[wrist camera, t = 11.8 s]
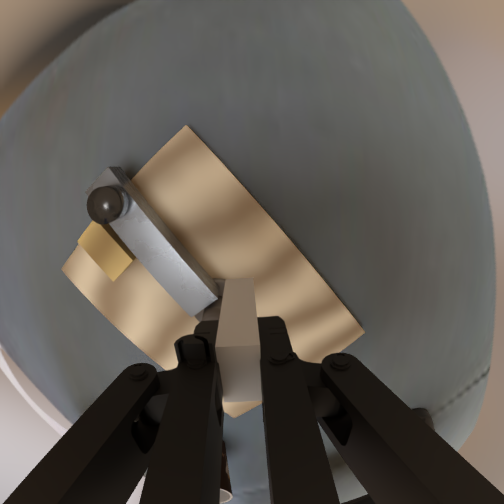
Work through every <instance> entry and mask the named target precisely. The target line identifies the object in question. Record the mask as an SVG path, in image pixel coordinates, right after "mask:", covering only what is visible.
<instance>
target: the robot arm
mask: <svg viewBox="0 0 504 504" xmlns="http://www.w3.org/2000/svg"><path fill="white" fill-rule="evenodd" d="M174 347H175V351H176V356H177V360H178V365H177V367H176V368H174V369H171V370H167V371H161V372H157V370H156V368H155V367H154V366H153V365H150V364H148V363H137V364H133V365H131V366H129V367H127V368H126V369H125V370H123V372H122V373H121V374H120V375H119V376H118V377H117V378H116V379H115V380H114V381H113V382H112V383H111V384H110V385H109V387H108V388H107V389H106V390H105V391H104V392H103V393H102V394H101V395H100V396H99V397H98V398H97V399H96V401H95V402H94V403H93V404H92V405H91V406H90V407H89V408H88V409H87V410H86V411H85V412H84V414H83V415H82V416H81V417H80V418H79V419H78V420H77V421H76V422H75V423H74V424H73V426H72V427H71V428H70V429H69V430H68V431H67V432H66V433H65V434H64V435H63V437H62V438H61V439H60V440H59V441H58V442H57V443H56V444H55V445H54V446H53V448H52V449H51V450H50V451H49V452H48V453H47V455H45V456H44V458H43V459H42V460H41V461H40V462H39V463H38V464H37V465H36V467H35V468H34V469H33V470H32V471H31V472H30V473H29V474H28V476H27V477H26V478H25V479H24V480H23V481H22V482H21V483H20V485H19V486H18V487H17V488H16V489H15V490H14V491H13V493H12V494H11V495H10V496H9V497H8V499H7V500H6V501H5V502H4V503H3V504H126V502H127V501H128V499H129V498H130V496H131V494H132V493H133V491H134V489H135V488H136V486H137V484H138V482H139V481H140V480H141V478H142V476H143V475H144V473H145V471H146V470H147V468H148V470H147V474H146V478H145V482H144V486H143V490H142V494H141V498H140V503H139V504H220V480H221V458H222V438H223V420H224V410H223V404H222V401H223V399H224V402H247V401H262V406H263V422H264V431H265V443H266V454H267V465H268V477H269V488H270V499H271V504H340V502H339V498H338V494H337V491H336V487H335V483H334V480H333V476H332V472H331V469H330V465H329V462H328V458H327V454H326V451H325V447H324V444H323V440H322V436H321V433H320V429H319V426H318V423H319V424H320V426H321V427H322V429H323V430H324V431H325V433H326V434H327V436H328V437H329V439H330V440H331V442H332V443H333V445H334V446H335V448H336V449H337V450H338V452H339V453H340V455H341V456H342V458H343V459H344V461H345V462H346V463H347V465H348V466H349V468H350V469H351V470H352V472H353V473H354V475H355V476H356V477H357V479H358V480H359V482H360V483H361V484H362V486H363V487H364V488H365V490H366V491H367V493H368V494H367V495H364V496H361V497H359V498H356V499H353V500H350V501H347V502H344V503H341V504H504V495H503V494H502V493H501V492H500V491H499V490H498V489H497V488H496V487H495V486H493V485H492V484H491V483H490V482H489V481H488V480H487V479H486V478H485V477H484V476H483V475H481V474H480V473H479V472H478V471H477V470H476V469H475V468H474V467H473V466H472V465H471V464H469V463H468V462H467V461H466V460H465V459H464V458H463V457H462V456H461V455H460V454H459V453H458V452H456V451H455V450H454V449H453V448H452V447H451V446H450V445H449V444H448V443H447V442H446V441H445V440H444V439H442V438H441V437H440V436H439V435H438V434H437V433H436V432H435V429H434V424H433V420H432V418H431V416H430V414H429V413H428V411H427V410H425V409H414V410H411V409H410V408H409V407H408V406H407V405H406V404H405V403H404V402H403V401H402V400H401V399H400V398H398V397H397V396H396V395H395V394H394V393H393V392H392V391H391V390H390V389H389V388H388V387H387V386H386V385H385V384H384V383H382V382H381V381H380V380H379V379H378V378H377V377H376V376H375V375H374V374H373V373H372V372H371V371H370V370H369V369H368V368H367V367H365V366H364V365H363V364H362V363H361V362H360V361H359V360H358V359H357V358H356V357H354V356H353V355H350V354H347V353H333V354H330V355H327V356H325V358H324V359H323V360H322V363H312V362H306V361H303V360H301V359H299V357H298V356H297V354H296V353H295V352H293V349H292V346H291V342H290V339H289V335H288V332H287V328H286V325H285V321H284V320H283V319H282V318H280V317H279V316H268V317H257V311H256V302H255V292H254V283H253V278H239V279H226V280H225V286H224V292H223V299H222V305H221V311H220V318H219V320H209V321H201V322H200V323H198V324H197V325H196V326H195V329H194V334H188V335H185V336H182V337H180V338H179V339H177V340H176V341H175V343H174ZM317 421H318V422H317Z"/></svg>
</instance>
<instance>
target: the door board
mask: <svg viewBox="0 0 504 504" xmlns="http://www.w3.org/2000/svg"><path fill="white" fill-rule="evenodd" d="M131 182H132V183H133V184H134V185H135V187H136V188H137V189H138V191H139V192H140V193H141V194H142V196H143V197H144V198H145V199H146V201H147V202H148V203H149V204H150V206H151V207H152V208H153V209H154V210H155V212H156V213H157V214H158V215H159V217H160V218H161V219H162V220H163V221H164V223H165V224H166V225H167V226H168V228H169V229H170V230H171V231H172V232H173V234H174V235H175V236H176V237H177V238H178V240H179V241H180V242H181V243H182V244H183V245H184V247H185V248H186V249H187V250H188V251H189V252H190V254H191V255H192V256H193V257H194V258H195V259H196V261H197V262H198V263H199V264H200V265H201V266H202V268H203V269H204V270H205V271H206V272H207V273H208V274H209V275H210V277H211V278H212V279H213V280H214V281H215V282H216V283H217V285H218V286H219V287H220V288H219V294H218V299H217V300H215V301H214V302H213V303H211V304H210V305H208V306H207V307H206V308H204V309H203V310H201V311H200V312H199V313H197V314H196V315H195V316H193V317H192V318H191V317H190V316H189V315H188V314H187V313H186V312H185V311H184V310H183V309H182V308H181V306H180V305H179V304H178V303H177V302H176V301H175V300H174V299H173V298H172V297H171V296H170V295H169V294H168V293H167V291H166V290H165V289H164V288H163V287H162V286H161V285H160V284H159V283H158V282H157V280H156V279H155V278H154V277H153V276H152V275H151V274H150V273H149V271H148V270H147V269H146V268H145V267H144V266H143V265H142V263H141V262H140V261H139V260H138V259H137V258H136V256H135V255H134V254H133V253H132V252H131V250H130V249H129V248H128V247H127V246H126V244H125V243H124V242H123V241H122V239H121V238H120V237H119V236H118V235H117V233H116V232H115V231H114V229H113V228H112V227H111V226H110V224H109V223H108V224H105V225H101V224H98V223H96V222H94V221H92V222H91V224H90V225H89V226H88V228H87V229H86V230H85V232H84V233H83V234H82V236H81V237H80V238H79V240H78V241H77V242H78V243H79V245H78V246H77V247H76V249H75V250H74V252H73V253H72V254H71V256H70V257H69V259H68V260H67V262H66V263H65V265H64V266H63V268H62V271H63V272H64V273H65V274H66V275H67V276H68V278H69V279H70V280H71V281H72V282H73V283H74V284H75V286H76V287H77V288H78V289H79V290H80V291H81V292H82V293H83V294H84V295H85V296H86V297H87V299H88V300H89V301H90V302H91V303H92V304H93V305H94V306H95V307H96V308H97V309H98V310H99V311H100V312H101V313H102V314H103V315H104V316H105V317H106V318H107V319H108V320H109V321H110V322H111V323H112V324H113V325H114V326H115V327H116V328H118V329H119V330H120V331H121V332H122V333H123V334H124V335H125V336H126V337H127V338H128V339H129V340H131V341H132V342H133V343H134V344H135V345H136V346H137V347H139V348H140V349H141V350H142V351H143V352H144V353H146V354H147V355H148V356H149V357H150V358H151V359H153V360H154V361H155V362H156V363H158V364H159V365H160V366H161V367H163V368H164V369H165V370H166V371H167V370H171V369H174V368H176V367H177V365H178V360H177V356H176V351H175V347H174V343H175V341H176V340H177V339H179V338H180V337H182V336H185V335H188V334H194V329H195V326H196V325H197V324H198V323H200V322H201V321H209V320H219V318H220V311H221V305H222V299H223V292H224V286H225V280H226V279H239V278H253V283H254V292H255V302H256V311H257V317H268V316H279V317H280V318H282V319H283V320H284V321H285V325H286V328H287V332H288V335H289V339H290V342H291V346H292V349H293V352H295V353H296V354H297V356H298V357H299V359H301V360H303V361H306V362H312V363H322V360H323V359H324V358H325V356H327V355H330V354H333V353H339V352H341V351H342V350H343V349H345V348H346V347H347V346H349V345H350V344H351V343H352V342H354V341H355V340H356V339H358V338H359V337H360V336H361V335H363V334H364V333H365V332H364V330H363V329H362V327H361V326H360V325H359V324H358V322H357V321H356V320H355V318H354V317H353V316H352V315H351V313H350V312H349V311H348V310H347V308H346V307H345V306H344V305H343V303H342V302H341V301H340V300H339V298H338V297H337V296H336V295H335V293H334V292H333V291H332V290H331V288H330V287H329V286H328V285H327V283H326V282H325V281H324V280H323V279H322V277H321V276H320V275H319V274H318V272H317V271H316V270H315V269H314V268H313V266H312V265H311V264H310V263H309V262H308V260H307V259H306V258H305V257H304V256H303V254H302V253H301V252H300V251H299V250H298V248H297V247H296V246H295V245H294V244H293V243H292V241H291V240H290V239H289V238H288V237H287V236H286V234H285V233H284V232H283V231H282V230H281V229H280V227H279V226H278V225H277V224H276V223H275V222H274V220H273V219H272V218H271V217H270V216H269V215H268V213H267V212H266V211H265V210H264V209H263V208H262V207H261V205H260V204H259V203H258V202H257V201H256V200H255V199H254V198H253V196H252V195H251V194H250V193H249V192H248V191H247V190H246V189H245V187H244V186H243V185H242V184H241V183H240V182H239V181H238V180H237V179H236V177H235V176H234V175H233V174H232V173H231V172H230V171H229V170H228V169H227V168H226V166H225V165H224V164H223V163H222V162H221V161H220V160H219V159H218V158H217V157H216V156H215V154H214V153H213V152H212V151H211V150H210V149H209V148H208V147H207V146H206V145H205V144H204V143H203V142H202V140H201V139H200V138H199V137H198V136H197V135H196V134H195V133H194V132H193V131H192V130H191V129H190V128H189V127H188V126H187V125H186V126H185V127H183V128H182V129H181V130H180V131H179V132H178V133H177V134H176V135H175V136H174V137H173V138H172V139H171V140H170V141H169V142H167V143H166V144H165V145H164V146H163V147H162V148H161V149H160V150H159V151H158V152H157V153H156V154H155V155H154V156H153V157H152V158H151V159H150V160H149V161H148V162H147V163H146V165H145V166H144V167H143V168H142V169H141V170H140V171H139V172H138V173H137V174H136V175H135V176H134V177H133V178H132V180H131ZM261 403H262V401H247V402H224V399H223V401H222V404H223V410H224V412H225V413H227V414H229V415H230V416H232V417H233V418H236V417H238V416H239V415H241V414H243V413H245V412H247V411H249V410H250V409H252V408H254V407H256V406H258V405H259V404H261Z"/></svg>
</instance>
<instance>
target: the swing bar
mask: <svg viewBox="0 0 504 504" xmlns="http://www.w3.org/2000/svg"><path fill="white" fill-rule="evenodd" d="M85 193H86V194H87V195H88V200H87V210H88V214H89V216H90V217H91V219H92V220H93V221H94V222H96V223H98V224H101V225H105V224H108V223H109V224H110V226H111V227H112V228H113V229H114V231H115V232H116V233H117V235H118V236H119V237H120V238H121V239H122V241H123V242H124V243H125V244H126V246H127V247H128V248H129V249H130V250H131V252H132V253H133V254H134V255H135V256H136V258H137V259H138V260H139V261H140V262H141V263H142V265H143V266H144V267H145V268H146V269H147V270H148V271H149V273H150V274H151V275H152V276H153V277H154V278H155V279H156V280H157V282H158V283H159V284H160V285H161V286H162V287H163V288H164V289H165V290H166V291H167V293H168V294H169V295H170V296H171V297H172V298H173V299H174V300H175V301H176V302H177V303H178V304H179V305H180V306H181V308H182V309H183V310H184V311H185V312H186V313H187V314H188V315H189V316H190V317H191V318H192V317H193V316H195V315H196V314H197V313H199V312H200V311H201V310H203V309H204V308H206V307H207V306H208V305H210V304H211V303H213V302H214V301H215V300H217V299H218V294H219V288H220V287H219V286H218V285H217V283H216V282H215V281H214V280H213V279H212V278H211V277H210V275H209V274H208V273H207V272H206V271H205V270H204V269H203V268H202V266H201V265H200V264H199V263H198V262H197V261H196V259H195V258H194V257H193V256H192V255H191V254H190V252H189V251H188V250H187V249H186V248H185V247H184V245H183V244H182V243H181V242H180V241H179V240H178V238H177V237H176V236H175V235H174V234H173V232H172V231H171V230H170V229H169V228H168V226H167V225H166V224H165V223H164V221H163V220H162V219H161V218H160V217H159V215H158V214H157V213H156V212H155V210H154V209H153V208H152V207H151V206H150V204H149V203H148V202H147V201H146V199H145V198H144V197H143V196H142V194H141V193H140V192H139V191H138V189H137V188H136V187H135V185H134V184H133V183H132V182H131V180H130V179H129V178H128V176H127V175H126V174H125V173H124V171H123V170H122V169H121V167H107V168H106V169H105V171H104V172H103V173H102V174H101V175H100V176H99V177H98V178H97V179H96V180H95V182H94V183H93V184H92V185H91V186H90V187H89V188H88V189H87V191H86V192H85Z"/></svg>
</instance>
